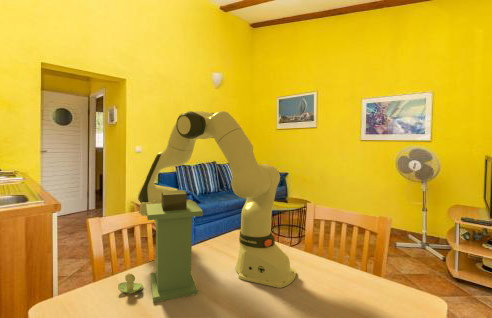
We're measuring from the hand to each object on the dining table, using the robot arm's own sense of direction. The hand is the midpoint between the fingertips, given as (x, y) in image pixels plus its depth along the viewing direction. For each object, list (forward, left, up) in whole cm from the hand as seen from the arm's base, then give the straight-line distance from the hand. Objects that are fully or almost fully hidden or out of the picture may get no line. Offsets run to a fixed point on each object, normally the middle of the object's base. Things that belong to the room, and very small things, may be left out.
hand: (168, 201), depth 104 cm
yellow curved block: (-9, +7, +2) cm, 12 cm away
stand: (-14, +10, -24) cm, 29 cm away
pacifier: (-5, +19, -24) cm, 31 cm away
